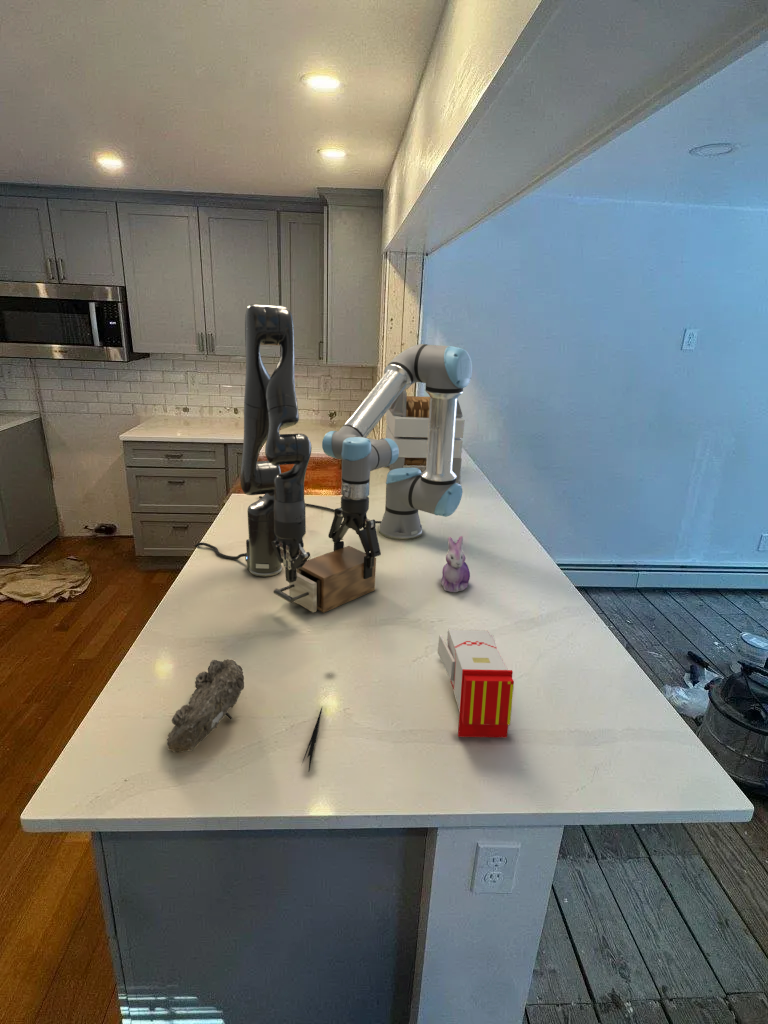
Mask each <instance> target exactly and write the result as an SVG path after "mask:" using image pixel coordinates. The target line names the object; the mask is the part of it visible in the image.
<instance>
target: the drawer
mask: <svg viewBox="0 0 768 1024" xmlns="http://www.w3.org/2000/svg"><path fill="white" fill-rule="evenodd" d="M321 588H322V580H320V579H318V578H316V577H314V576H313V575H311V574H309V573H307V572H305V571H303V570H299V573H297V579H296V581H294V582H292V583H290V582H288V585H286V586H284V587H282V588H279V589H278V588H274V590H273V594H274V595H277V596H278V597H279V598H281V599H283V600H284V601H286V602H288V603H290V604H294V603H296V604H297V605H299V606H301V607H303V608H305V609H306V610H308V611H310V612H311V613H316V612H317V610H318V609H317V606H321ZM287 590H289V591H288V593H289V594H287V593H286V592H284V591H287Z"/></svg>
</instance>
